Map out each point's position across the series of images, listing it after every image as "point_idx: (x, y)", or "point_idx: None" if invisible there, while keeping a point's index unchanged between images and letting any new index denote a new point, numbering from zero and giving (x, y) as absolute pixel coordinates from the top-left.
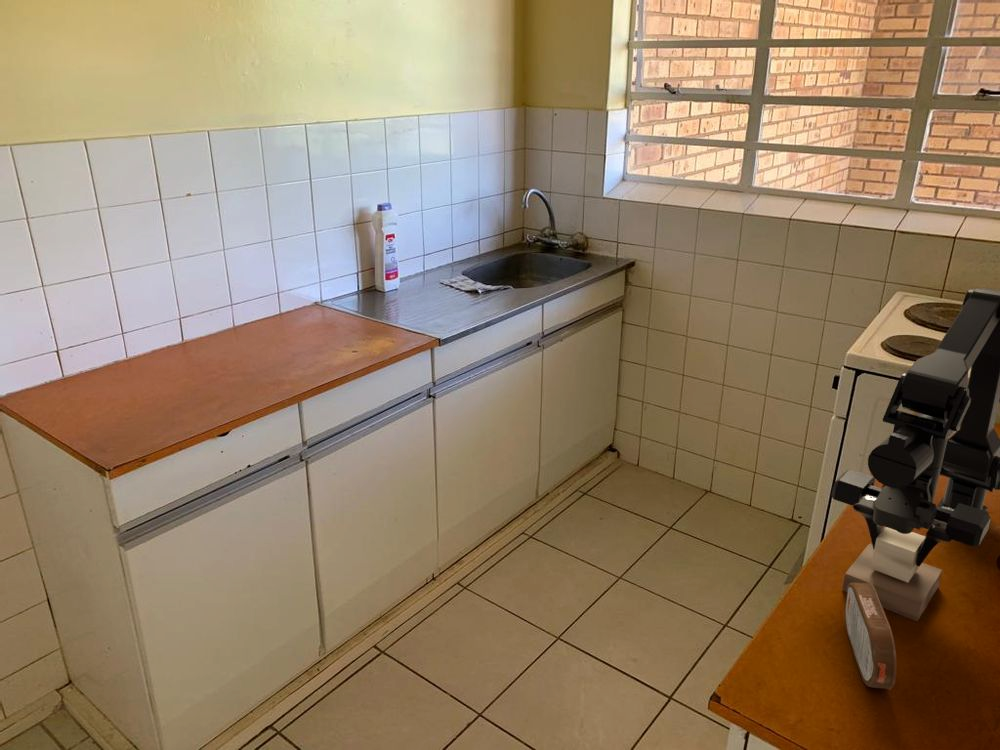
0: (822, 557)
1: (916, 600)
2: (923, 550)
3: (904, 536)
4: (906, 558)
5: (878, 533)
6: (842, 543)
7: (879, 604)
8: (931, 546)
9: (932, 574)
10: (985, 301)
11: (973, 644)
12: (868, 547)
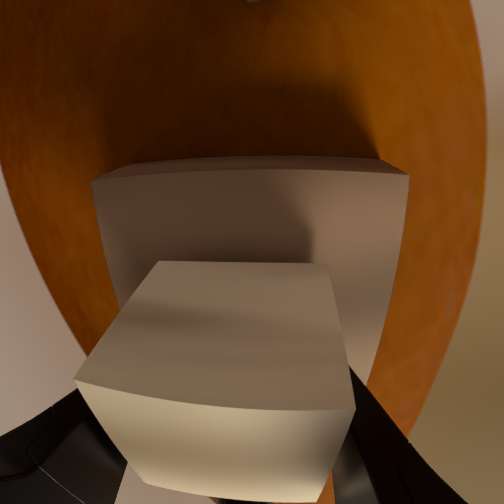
0: (457, 295)
1: (108, 188)
2: (77, 411)
3: (207, 474)
4: (136, 341)
5: (348, 449)
6: (413, 376)
7: None
8: (27, 430)
9: None
10: None
11: (27, 183)
12: None
